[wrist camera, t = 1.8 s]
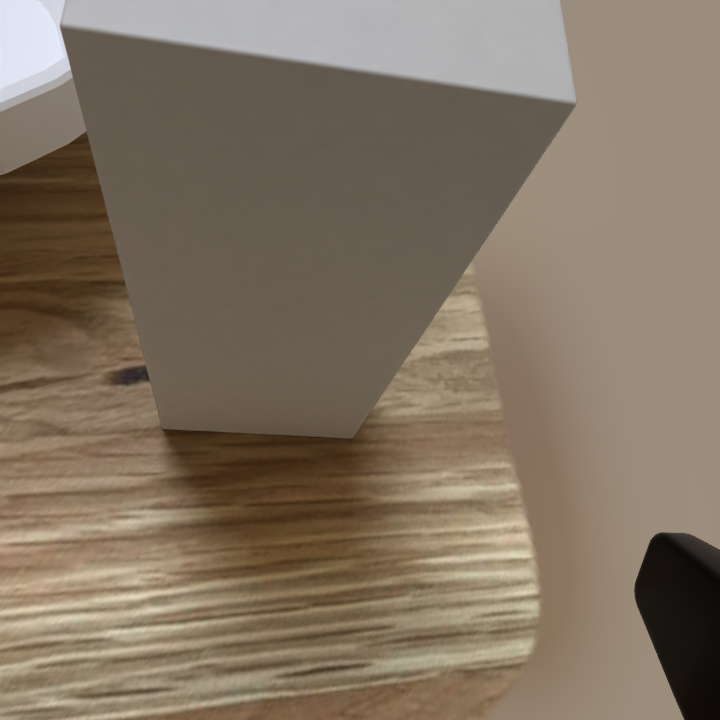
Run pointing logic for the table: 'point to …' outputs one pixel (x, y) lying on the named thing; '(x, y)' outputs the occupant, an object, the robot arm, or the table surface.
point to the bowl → (34, 83)
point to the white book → (305, 184)
